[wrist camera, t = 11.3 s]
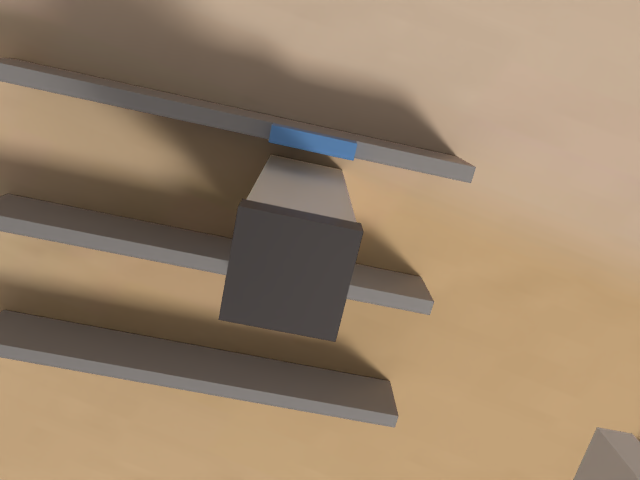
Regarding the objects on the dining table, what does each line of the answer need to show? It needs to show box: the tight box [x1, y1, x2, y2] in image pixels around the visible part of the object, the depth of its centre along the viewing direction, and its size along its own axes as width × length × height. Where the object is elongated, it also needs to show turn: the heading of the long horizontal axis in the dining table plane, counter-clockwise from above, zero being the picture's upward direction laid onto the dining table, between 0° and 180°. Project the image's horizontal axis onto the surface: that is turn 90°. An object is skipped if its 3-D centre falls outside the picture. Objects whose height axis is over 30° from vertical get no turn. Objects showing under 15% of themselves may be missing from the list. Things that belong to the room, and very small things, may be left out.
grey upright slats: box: [0, 58, 476, 427], centre depth 28 cm, size 24×15×4 cm, turn 78°
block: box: [219, 155, 363, 342], centre depth 23 cm, size 4×4×12 cm
